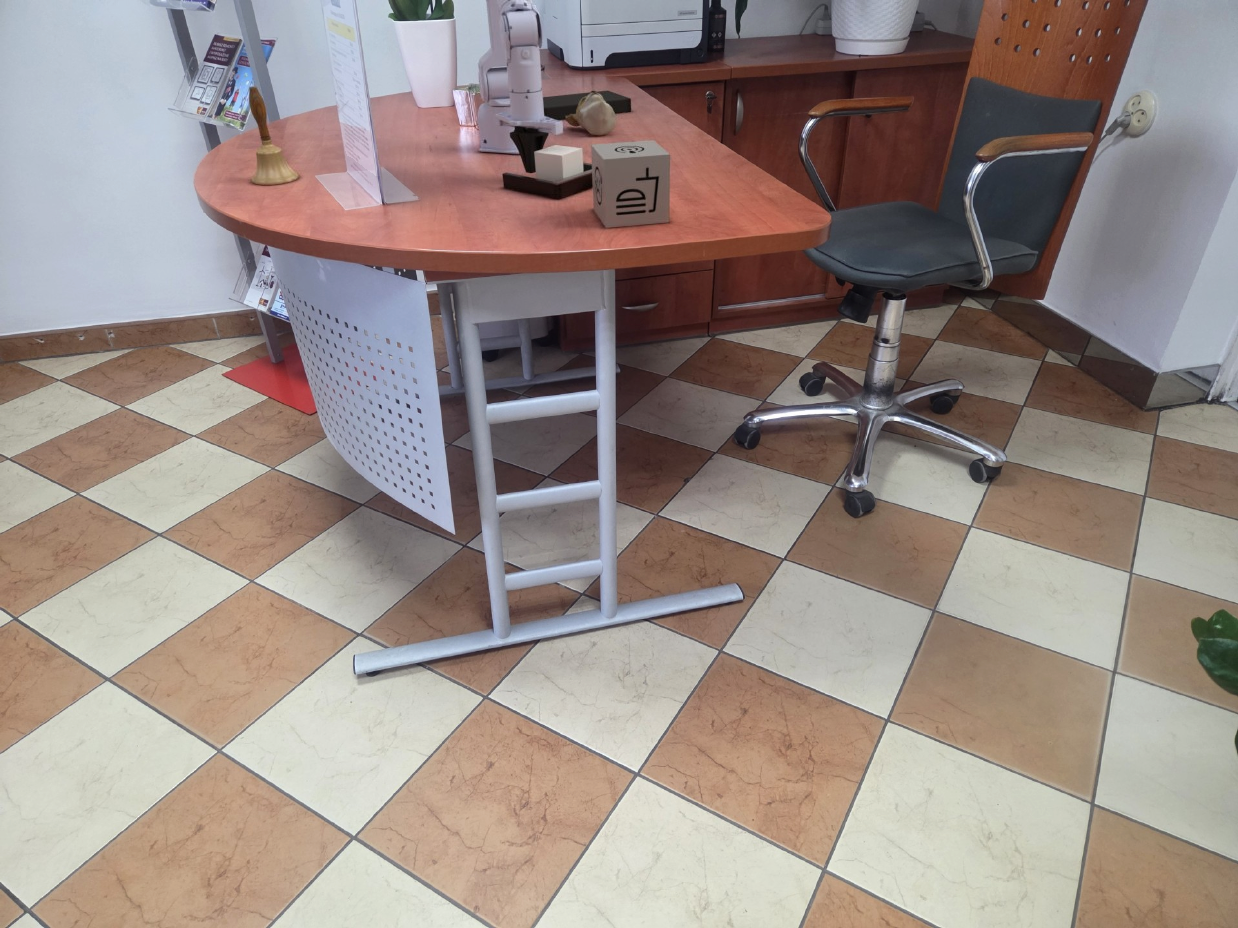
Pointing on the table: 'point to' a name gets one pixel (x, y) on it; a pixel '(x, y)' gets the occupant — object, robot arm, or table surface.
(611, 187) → the icon cube
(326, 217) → the table surface
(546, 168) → the white cube
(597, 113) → the ceramic sculpture
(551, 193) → the frame
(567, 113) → the external hard drive
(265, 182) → the hand bell
